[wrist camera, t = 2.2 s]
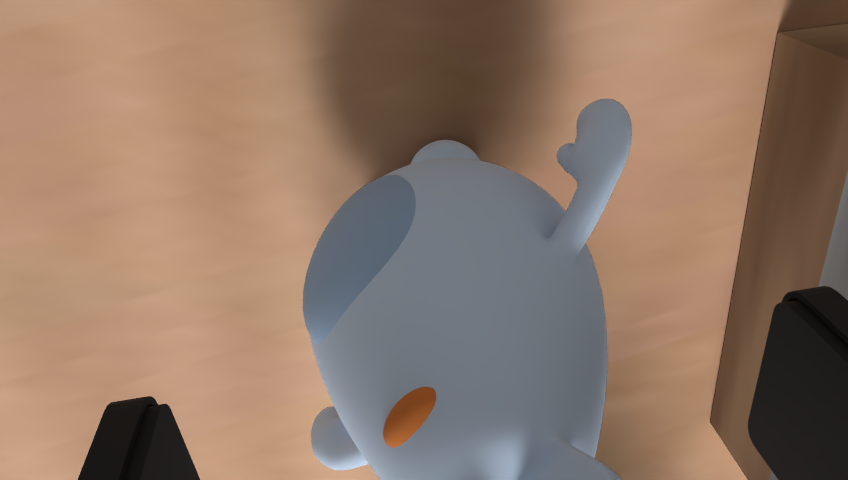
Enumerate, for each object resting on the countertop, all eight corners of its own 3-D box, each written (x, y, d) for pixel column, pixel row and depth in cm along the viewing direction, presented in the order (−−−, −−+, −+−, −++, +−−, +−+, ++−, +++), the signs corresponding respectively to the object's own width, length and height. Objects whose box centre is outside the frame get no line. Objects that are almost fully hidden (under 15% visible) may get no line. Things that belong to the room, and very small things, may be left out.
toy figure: (457, -35, 15) (708, 194, 5) (637, 114, 18) (1063, 479, 7) (227, 285, 19) (92, 804, 8) (402, 373, 21) (462, 862, 11)
